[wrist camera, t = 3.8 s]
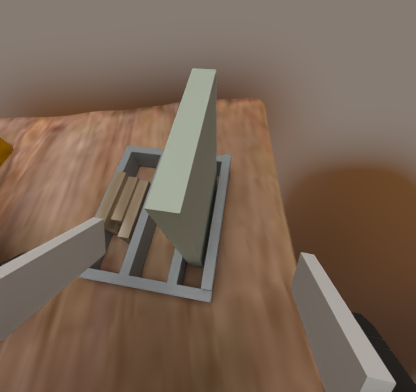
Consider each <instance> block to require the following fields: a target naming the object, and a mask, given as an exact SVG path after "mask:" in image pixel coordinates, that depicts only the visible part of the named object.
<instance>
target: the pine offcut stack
mask: <svg viewBox="0 0 416 392" xmlns="http://www.w3.org/2000/svg"><path fill="white" fill-rule="evenodd" d="M150 185H151V184H150V182H149V181H145V180H139V178H137V177H129V176H128V175H127V173H124V172H116V174H115V176H114V178H113V180H112V183H111V185H110V187H109V189H108V191H107V193H106V196H105V198H104V200H103V202H102V204H101V206H100V209H99V211H98V213H97V215H96V217H95V218H101V219H104V229H106V230H107V231H109V232H110V233H112V234H114V235H117V236H118V237H119V238H121V239H123V240H124V241H126V242H127V243H129V244H130V242H131V239H132V236H133V233H134V230H135V228H136V225H137V222H138V219H139V216H140V213H141V210H142V208H143V205H144V202H145V199H146V196H147V193H148V191H149V188H150Z"/></svg>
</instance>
